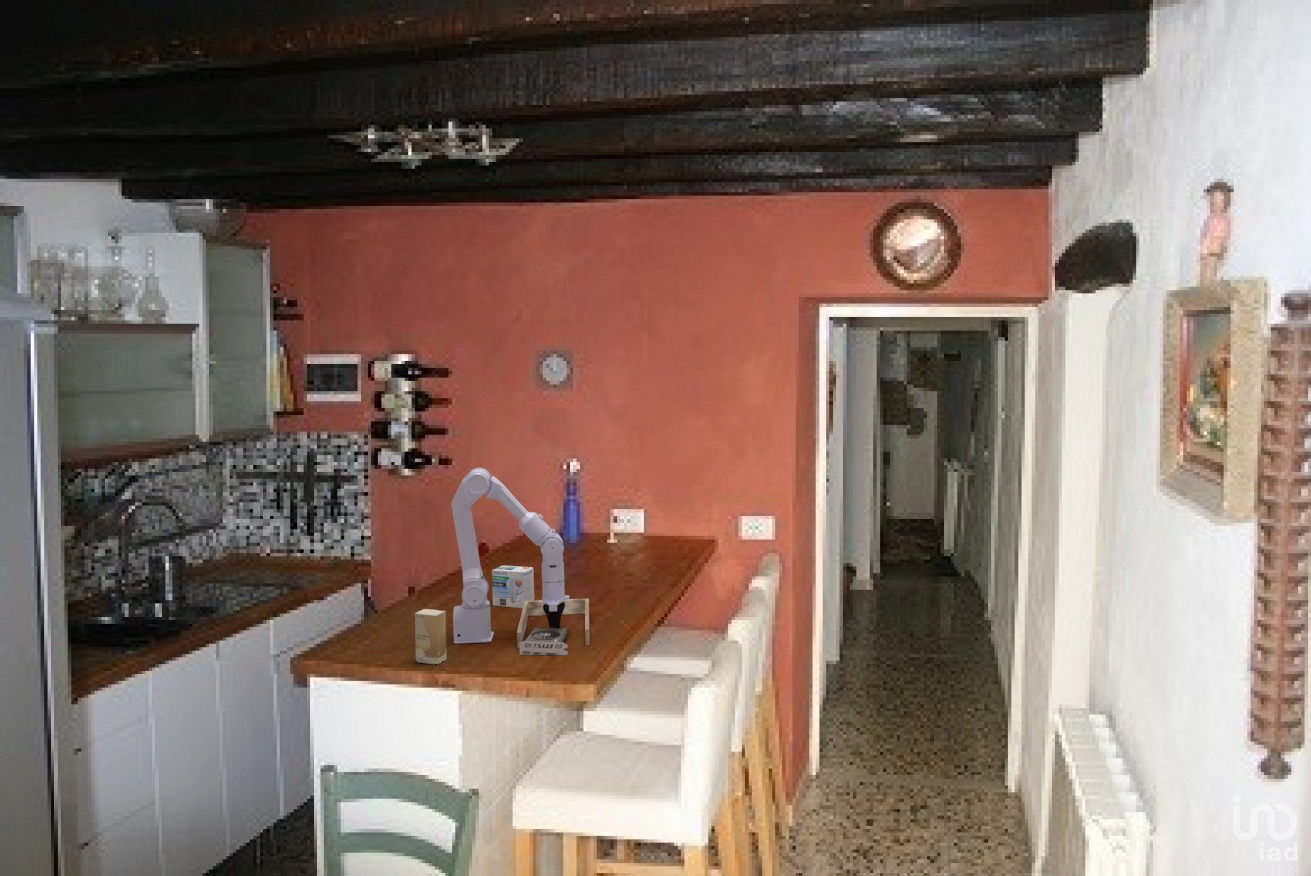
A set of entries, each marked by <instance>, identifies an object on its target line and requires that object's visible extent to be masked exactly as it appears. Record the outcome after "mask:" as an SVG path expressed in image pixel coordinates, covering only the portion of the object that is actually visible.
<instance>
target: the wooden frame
mask: <svg viewBox="0 0 1311 876" xmlns="http://www.w3.org/2000/svg"><path fill="white" fill-rule="evenodd" d="M589 600H590V599H589V598H571V599H570V598H569V600H564V601H563V602H565V608H564V610H563V613H562V615H582V614H584V630H585V631H584V632H585V633H584V634H585V635H584V638H585V646H590V645H591V644H590V639H591V638H590V604H589V603H590V601H589ZM544 604H546V603H545V602H543V601H542V599H541V600H539V599H538V600H534V601H524V605H523V608H521V609H522V610H521V615H520V620H519V623H518V627H517V630H516V642H517V643H516V644H517V649H520V645H519V644H520V642H523V641H524V640H525V639H524V638H525V633H526V628H527V624H528V618H529V616H530V617H531V616H533V617H534V616H546V613H545V612H544V610H543V605H544Z"/></svg>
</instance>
